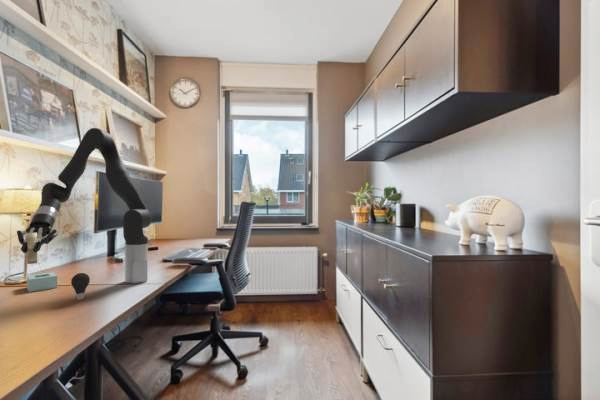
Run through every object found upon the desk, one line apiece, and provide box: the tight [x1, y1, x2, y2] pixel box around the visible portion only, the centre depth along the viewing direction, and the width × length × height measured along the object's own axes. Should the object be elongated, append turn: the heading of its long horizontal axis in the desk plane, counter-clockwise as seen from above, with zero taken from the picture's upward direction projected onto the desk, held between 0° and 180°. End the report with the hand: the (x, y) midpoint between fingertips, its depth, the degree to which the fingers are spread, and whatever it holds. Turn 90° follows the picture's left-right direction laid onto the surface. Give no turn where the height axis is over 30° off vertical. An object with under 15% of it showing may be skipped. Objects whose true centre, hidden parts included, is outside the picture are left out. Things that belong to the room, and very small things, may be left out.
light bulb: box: [70, 272, 90, 301], centre depth 113 cm, size 6×6×10 cm
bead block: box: [26, 272, 58, 293], centre depth 128 cm, size 9×9×5 cm
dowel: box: [26, 233, 38, 265], centre depth 120 cm, size 3×3×12 cm
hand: (29, 251), depth 118 cm, fingers closed on dowel, 3 cm apart
